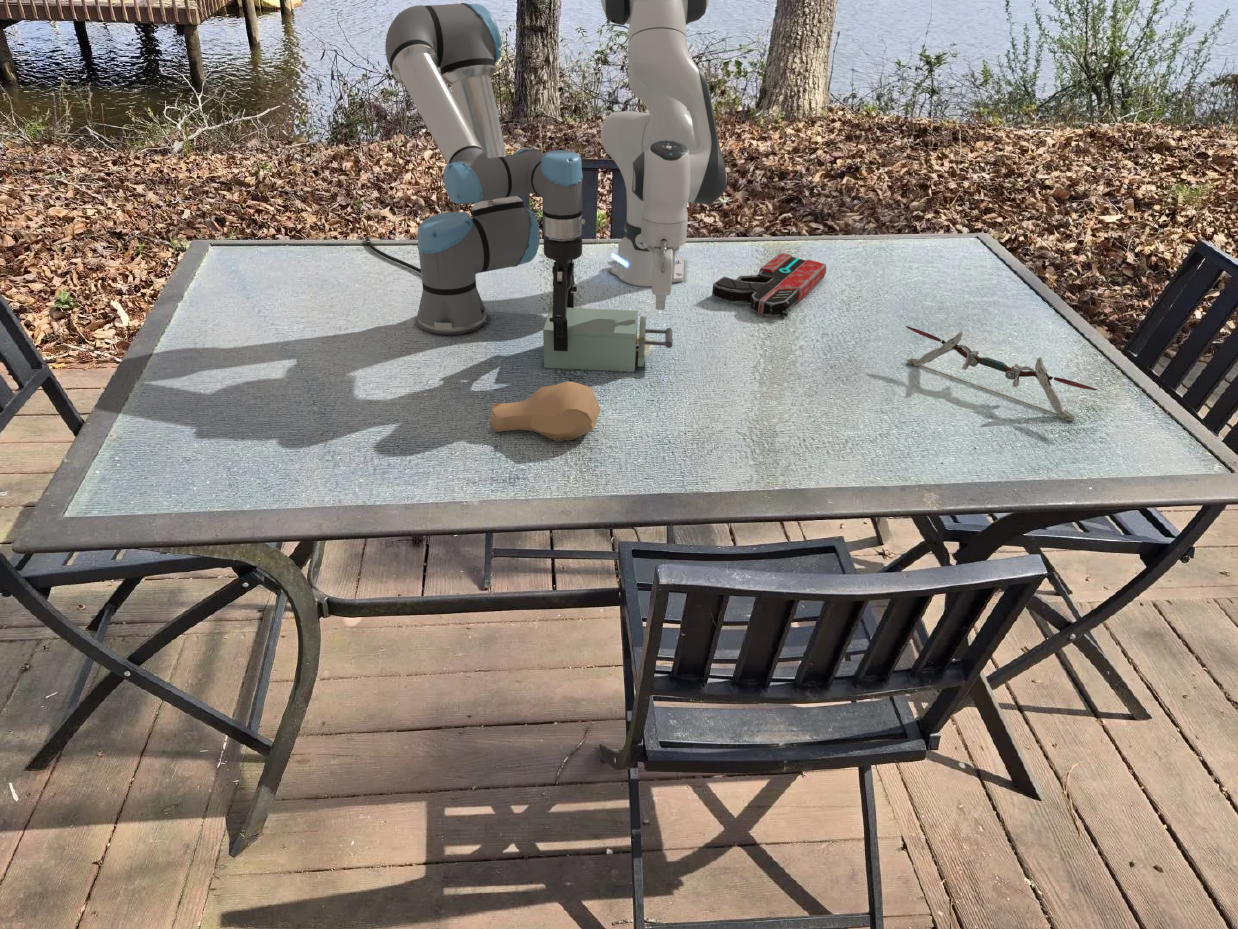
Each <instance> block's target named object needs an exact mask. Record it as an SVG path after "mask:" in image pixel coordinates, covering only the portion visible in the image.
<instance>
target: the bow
mask: <svg viewBox="0 0 1238 929" xmlns="http://www.w3.org/2000/svg"><path fill="white" fill-rule="evenodd" d="M905 328H907V329H909V330H910V331H912V332H914V333H916V334H918V335H920V336H923V337H925V338H927V339H930V340H932V341H936V342H939V343H941V344H942V346H940V347H936V348H934V349H932V350H930V351H928V352H926V353H925V354H924V355H923V356H921V357H920V358H913V357H909V358H908V359H907V363H908V364H910V365H912V366H916V367H918V366H920V367H922V368H925V369H927V370H930V371H933V372H935V373H938V374H941V375H945V376H947V377H950V378H952V379H955V380H958V381H960V382H964V383H967V384H970V385H973V386H975V387H978V388H981V389H983V390H986V391H988V392H992V393H995V394H997V395H1001V396H1003V397H1006V398H1008V399H1011V400H1014V401H1016V402H1020V403H1022V404H1026V405H1028V406H1031V407H1033V408H1037V409H1040V410H1042V411H1045V412H1048V413H1050V414H1053V415H1056V416H1059V417H1060V418H1062V419H1063V420H1067V421H1074V419H1076V416H1074V415H1073V414H1072V413H1070V412H1069V411H1067V410H1066V409H1065V408H1064V405H1063V402H1062V398H1061V397H1060V395H1059V394H1058V391H1057V390H1056V389H1055V387H1054V386H1053V385H1052V383H1051V381H1052V380H1054V381H1055V382H1058V383H1062V384H1064V385H1067V386H1070V387H1073V388H1074V387H1075V388H1079V389H1083V390H1091V391H1098V390H1099V389H1098V388H1095V387H1093V386H1089V385H1087V384H1083V383H1080V382H1077V381H1073V380H1069V379H1065V378H1062V377H1056V376H1052V375H1049V373H1048V370H1047V368H1046V366H1045V365H1044V362H1043V358H1042V357H1041V356H1039V357H1038V358H1037V359H1036V362H1035V366H1034V368H1032V367H1030V366H1021V365H1019V364H1018V363H1015V364H1013V366H1011V367H1010V366H1009V365H1008V364H1006V363H1005V362H1002V361H999V360H996V359H994V358H991V357H987V356H986V357H985V356H984V357H980V356H979V354H980V352H979V350H971V348H969V347H968V346H967V345H964V344H959V343H960V342H961V340H962V337H963V331H959V332H958V333H957V334H956V335H955V336H953V337H951V338H949V339H948V340H947V341H946V340H944V339H941V338H940V337H938V336H935V335H933V334H930V333H928V332H926V331H923V330H920V329H918V328H914V327H911V326H908V325H905ZM951 351H956V352H957V353H958V354H959V355H960V356H962V357H963V358H965V362H964V363H963V365H962V367H961V370H964V371H966V370H967V369H969V366H970V367H973V368H975V367H976V366H978V365H979V364H980V365H982V366H984V367H988V368H991V369H994V370H997V371H999V372H1002V373H1005V374H1004V376H1005V378H1006V379H1008V380H1013V381H1012V387H1013V388H1018V387H1019V386H1020V378H1028V377H1035V379H1036V380H1037V381H1038V383H1039V384H1040V386H1041V388H1042V390H1043V391H1044V393H1045V396H1046V398H1047V399H1048V401H1049V403H1050V406H1051V407H1052V409H1053V410H1054V411H1055V412H1053V411H1050V410H1048V409H1045V408H1042V407H1040V406H1036V405H1034V404H1031V403H1028V402H1025V401H1024V400H1023V401H1022V400H1019V399H1017V398H1014V397H1011V396H1008V395H1006V394H1003V393H1000V392H997V391H994V390H991V389H989V388H986V387H983V386H981V385H978V384H975V383H972V382H969V381H966V380H964V379H961V378H957V377H955V376H952V375H949V374H947V373H945V372H941V371H938V370H936V369H932V368H929V367H926V366H924V365H925V364H927V363H931V362H933V361H934V360H935V359H938V358H939V357H940V356H943V355H944V354H946V353H949V352H951Z"/></svg>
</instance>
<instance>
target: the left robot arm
mask: <svg viewBox="0 0 1238 929" xmlns="http://www.w3.org/2000/svg"><path fill="white" fill-rule="evenodd" d="M501 46H502V38H501V32H500V30H499V26H498V24H497V21H496V19H495V17H494V16H493V14H492V12H491V11H490V10H489V9H487V7H485V6H484V5H482V4H479V3H467V2H460V3H449V4H447V3H446V4H430V5H429V4H427V5H423V4H422V5H421V4H420V5H413V6H410V7H409V6H408V7H407V8H405V9H403V10H401V11H400V12H399V13H398V14H397V15H396V16H395V17H394V19H393V20H392V22H391V24H390V25H389V27H388V30H387V33H386V37H385V46H384V47H385V48H384V51H385V57H386V61H387V64H388V67H389V69H390V71H391V73H392V76H393V77H394V78H395V80H396V81H397V82H398V83H400V84H402V85H404V87H405V89H406V91H407V92H408V95H409V96H410V98H411V100H412V101H413V104H414V105H415V107H416V109H417V111H418V114H419V115H420V117H421V119H422V121H423V123H424V124H425V126H426V128H427V130H428V132H429V133H430V135H431V138H432V140H433V141H434V143H435V145H436V147H437V149H438V150H439V152H440V155H441V156H442V158H443V160H444V161H445V164H446V165H445V167H444V169H443V174H442V175H443V185H444V187H445V192H446V194H447V196H448V199H449V200H450V201H451V202H453V203H454V204H456V205H466V204H473V206H472V208H471V209H470V211H471V212H470V213H471V216H472V217H471V216H470V215H469V213H466V212H463V211H453V212H452V211H446V212H440V213H437V214H434V215H432V216H429V217H427V218H426V219H424V220H423V221H422V222H421V223H420V224H419V226H418V227H417V245H416V246H417V247H416V248H417V251H418V258H419V267H420V268H419V267H417V266H416V265H413V264H410V263H408V262H406V261H404V260H401V259H399V258H396V257H394V256H391V255H389V254H387V253H385V252H383V251H381V250H380V249H378V248H377V247H376V246H374V245H373V244H372V242H371V240H370V237H369V236H368V235H367V236H365V237H364V239H365V241H366V243H367V246H368V247H369V248H370V249H371V250H372V251H374V253H376V254H378V255H379V256H382V257H383V258H386V259H388V260H389V261H392V262H395V263H397V264H399V265H401V266H404V267H407V268H409V269H411V270H413V271H416V272H417V273H418V274H420V275H421V276H420V278H421V284H422V292H421V297H420V302H419V305H418V310H417V315H416V318H417V325H418V326H419V328H420V329H421V330H423V331H424V332H427V333H430V334H433V335H440V336H459V335H465V334H469V333H473V332H476V331H477V330H480V329H481V328H483V327H484V326H485V325H486V323H487V320H488V316H487V310H486V306H485V304H484V302H483V299H482V298H481V295H480V293H479V291H478V288H477V278H476V277H477V276H476V275H477V274H481V273H486V272H492V271H497V270H502V269H507V268H510V267H511V268H515V267H518V266H521V265H524V264H528V263H530V262H532V261H533V260H534V259H535V257H536V256H537V254H538V250H539V248H540V240H541V238H540V237H541V235H540V225H539V221H538V219H537V217H536V214H535V213H534V211H533V210H531V209H528V208H525V204H524V200H523V198H521V197H519V196H525V195H536V196H538V197H539V198H541V199H542V233H543V235H544V237H543V254H544V256H545V257H546V258H547V259H549V260H553V261H554V262H553V266H552V271H551V272H552V276H553V277H552V288H553V290H552V307H553V315H552V318H550V322H553V330H554V351H568V330H567V318H566V315H567V308H575V293H577V292H578V286H575V284H576V282H575V274H574V273H575V262H573V261H574V260H577V259H579V258H581V257H582V254H583V237H582V236H581V235H582V234H583V225H585V224H586V220H585V219H584V218H582V217H583V180H584V179H583V178H584V174H583V168H582V164H583V163H582V158H581V156H580V154H578V153H577V152H575V151H572V150H571V151H569V150H565V149H556V150H550V151H549V150H548V151H546V152H542V151H541V150H538V149H537V148H536V149H535V148H530V147H523V148H520V149H519V148H518V149H517V150H516V151H515V152H514V153H513V154H511V155H507V152H506V151H507V150H506V147H505V142H504V136H503V131H502V127H501V123H500V117H499V112H498V108H497V102H496V98H495V94H494V87H493V83H492V77H493V75H494V74H495V72H496V70H497V68H496V64H497V62H498V61H499V60H500V58H501V55H502V47H501ZM449 86H450V87H449ZM367 241H370V242H367Z"/></svg>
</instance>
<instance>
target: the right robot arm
mask: <svg viewBox="0 0 1238 929" xmlns="http://www.w3.org/2000/svg"><path fill="white" fill-rule="evenodd" d="M709 3H710V0H600V4H601V7H602V10H603V12H604V14H605V18H606V19H607V20H608V21H609V22H610V23H611V24H616V25H619V26H625V24H626V25H629V26H628V36H627V37H628V38H627V70H628V71H627V72H628V73H627V75H628V78H627V80H628V82H627V83H628V87H629V90H630V91H631V93H632V94H633V95H634V96H635V98H637V99H638V100H640V101H641V102H642V103H643V104H644V106H645V107H646V109H647V111H648V112H641V111H633V110H624V111H615V112H611V113H610V114H609V115H608V116H607V117H606V118H605V120H604V121H603V124H602V125H601V129H600V142H601V145H602V147H603V150H604V152H605V153H606V154H608V156H609V157H610V158H611V159H612V160H613V161H614V163H615V164H616V166H617V168H618V169H619V171H620V174H621V176H622V179H623V182H624V187H625V193H626V218H625V220H624V225H623V230H624V231H623V232H624V237H623V238H621V239H620V240H619V241H618V245H617V254H615V253H611V258H612V259H613V260H615V261H616V264H614V265H613V266H612V267H610V273H611V274H613V275H614V276H617V277H618V278H619V279H620V280H621V281H623V282H624V283H627V284H630V285H634V286H639V287H651V293H652V294H653V296H654V295H655V310H657V311H664V310H665V308H666V300H667V296H670V295H671V292H672V285H673V283H681V282H683V281H684V273H685V272H684V271H685V268H684V267H685V258H684V257H683V256H681V255H677V252H679V251H680V247H681V246H683V245H685V244H686V243H687V240H688V239H687V238H688V237H687V236H688V223H689V212H688V209H687V208H688V203H693V204H695V205H696V204H697V205H707V206H710V205H712V204H714V203H715V202H716V201H717V200H719V199H720V198H721V196H723V194H724V193H725V191H726V189H727V180H728V174H727V173H728V172H727V168H726V165H725V160H724V157H723V153H722V150H721V145H720V141H719V136H718V129H717V123H716V119H715V113H714V108H713V102H712V97H711V93H710V88H709V84H708V80H707V76H706V74H705V72H704V70H703V68H702V67H700V66H699V65H697V64H696V63H695V62H694V60H693V58H692V56H691V54H690V52H689V48H688V43H687V25H689V24H690V23H693V22H696V21H699V20H700V19H701V18H703V16H705V14H706V11H707V8H708V6H709Z"/></svg>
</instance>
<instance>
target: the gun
mask: <svg viewBox="0 0 1238 929" xmlns="http://www.w3.org/2000/svg"><path fill="white" fill-rule="evenodd" d="M826 273H827V264H826V263H823V262H820V261H816V260H812V259H802V258H799V257H795V256H793V255H792V254H791V253H784V252H780V253H778V254H777V255H775V256H774V257H773V258H771V259H770V260H768V261H767V262H766V263H765V264H763V265H762V266H761V267H760V269H759V271H758V273H757V274H756V275H753V274H752V275H751V274H750V275H740V276H738V277H737V278H735V279H734V278H731V277H727V276H722V277H720V279H717V281H715V282H713V283H712V291H711V297H713V298H714V299H716V300H719V301H723V302H727V303H730V304H750V305H749V308H750V310H751V312H753V313H755V314H757V315H758V316H760V317H761V316H765V317H770V318H771V317H777V316H780V317H784V318H787V317H788V315H789V311H788V310H790V309H791V308H792V307H793V306H794V305H795V304H798V303H799V302H801V301H802V300H803V299H804V298H805V297H807V296H808V295H809V294H810V293H811V292H812V291H813V290H814V289H815V287H817V285H818V284H820V283H821V282H822V280H823V279H824V278H825V276H826Z"/></svg>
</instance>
